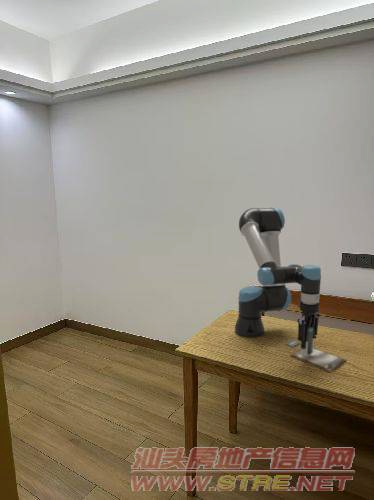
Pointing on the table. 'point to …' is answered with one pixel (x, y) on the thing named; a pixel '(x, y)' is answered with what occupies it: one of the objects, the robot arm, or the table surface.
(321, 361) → the clipboard
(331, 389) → the table surface
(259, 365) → the table surface
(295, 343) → the word card
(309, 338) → the marker
